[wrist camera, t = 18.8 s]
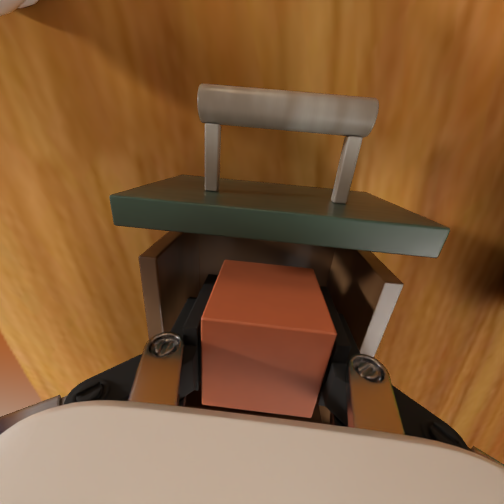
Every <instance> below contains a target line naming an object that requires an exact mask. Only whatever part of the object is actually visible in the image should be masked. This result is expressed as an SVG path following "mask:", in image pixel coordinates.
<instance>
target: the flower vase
mask: <svg viewBox="0 0 504 504" xmlns="http://www.w3.org/2000/svg"><path fill="white" fill-rule="evenodd" d="M38 1H39V0H0V16H3V15H6V14H9V13H11V12H13V11H15V10H16V9H17V8H25V7H28V6H31V5H34V4H35V3H37V2H38Z"/></svg>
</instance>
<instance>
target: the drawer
mask: <svg viewBox="0 0 504 504" xmlns="http://www.w3.org/2000/svg"><path fill="white" fill-rule="evenodd" d="M197 104H198V113H199V117H200V120H201V122H202V123H205V177H201V176H191V175H179V176H176V177H172V178H169V179H165V180H162V181H158V182H154V183H151V184H147V185H144V186H140V187H137V188H133V189H130V190H126V191H123V192H119V193H116V194H112V195H110V203H111V209H112V215H113V222H114V225H116V226H125V227H135V228H145V229H155V230H165V231H169V232H168V233H167V234H165V235H164V236H163V237H162V238H161V239H159V240H158V241H157V242H156V243H154V244H153V245H152V246H151V247H150V248H148V249H147V250H146V251H145V252H143V253H142V254H141V255H140V256H139V264H140V272H141V280H142V288H143V296H144V303H145V311H146V319H147V327H148V335H149V339H150V338H152V337H153V336H155V335H157V334H159V333H162V332H170V331H171V329H172V327H173V325H174V324H175V322H176V320H177V318H178V316H179V314H180V312H181V311H182V309H183V307H184V305H185V303H186V301H187V299H188V298H189V297H195V298H197V297H198V295H199V292H200V290H201V288H202V286H203V284H204V282H205V280H206V278H207V276H208V274H213V275H219V272H220V270H221V267H222V265H223V262H224V260H235V261H244V262H254V263H264V264H273V265H283V266H292V267H302V268H311V269H314V272H315V275H316V278H317V280H318V283H319V286H325V287H327V288H328V290H329V293H330V295H331V298H332V300H333V303H334V305H335V307H336V310H337V312H338V313H340V314H343V316H344V317H345V320H346V322H347V324H348V326H349V329H350V331H351V333H352V335H353V338H354V340H355V342H356V345H357V347H358V349H359V351H360V353H361V354H366V355H369V356H371V357H373V358H374V356H375V353H376V351H377V349H378V346H379V344H380V341H381V339H382V336H383V334H384V331H385V329H386V326H387V324H388V322H389V319H390V317H391V314H392V312H393V309H394V307H395V304H396V302H397V300H398V297H399V295H400V292H401V290H402V287H403V283H402V282H401V281H400V280H399V279H398V278H397V277H396V276H395V275H394V274H393V273H392V272H391V271H390V270H389V269H388V268H387V267H386V266H385V265H384V264H383V263H382V262H381V261H380V260H379V259H378V258H377V257H376V256H375V255H374V254H373V253H372V252H382V253H392V254H401V255H411V256H421V257H431V258H437V257H438V256H439V254H440V252H441V250H442V247H443V245H444V243H445V241H446V239H447V236H448V234H449V232H450V228H448V227H446V226H443V225H441V224H439V223H436V222H434V221H432V220H429V219H427V218H425V217H422V216H420V215H418V214H416V213H413V212H411V211H409V210H406V209H404V208H402V207H399V206H397V205H395V204H392V203H390V202H388V201H385V200H383V199H381V198H378V197H376V196H374V195H371V194H369V193H367V192H359V191H350V187H351V183H352V179H353V175H354V170H355V166H356V162H357V158H358V154H359V150H360V146H361V142H362V137H366V136H368V135H369V133H370V132H371V130H372V128H373V126H374V124H375V121H376V118H377V114H378V109H379V102H378V100H377V99H376V98H369V97H357V96H345V95H334V94H322V93H310V92H298V91H286V90H274V89H263V88H251V87H239V86H227V85H215V84H203V83H202V84H200V86H199V89H198V96H197ZM221 125H230V126H241V127H253V128H264V129H275V130H286V131H298V132H309V133H320V134H331V135H343V136H346V137H345V138H344V143H343V148H342V152H341V157H340V161H339V166H338V170H337V175H336V179H335V184H334V188H333V189H328V188H317V187H307V186H296V185H285V184H275V183H264V182H254V181H243V180H233V179H222V178H220V150H221ZM371 251H372V252H371ZM186 405H187V406H195V407H203V408H211V409H220V410H228V411H236V412H245V413H253V414H261V415H269V416H278V417H286V418H294V419H302V420H311V421H319V422H327V423H330V411H329V410H328V409H327V408H326V407H325V406H320V405H318V404H317V401H316V404H315V407H314V410H313V414H312V417H311V418H307V417H299V416H291V415H283V414H275V413H266V412H258V411H250V410H242V409H234V408H226V407H217V406H209V405H203V404H202V383H200V387H199V390H198V391H196V390H194V391H192V392H191V393H189V394H188V395H186Z"/></svg>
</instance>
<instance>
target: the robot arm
mask: <svg viewBox="0 0 504 504" xmlns="http://www.w3.org/2000/svg"><path fill="white" fill-rule="evenodd" d="M217 277H218V275H213V274H208V276H207V278H206V280H205V282H204V284H203V286H202V288H201V290H200V292H199V295H198V297H197V298H195V297H189V298H188V299H187V301H186V303H185V305H184V307H183V309H182V311H181V312H180V314H179V316H178V318H177V320H176V322H175V324H174V325H173V327H172V329H171V331H170V332H162V333H159V334H157V335H155V336H153V337H152V338H150V339H149V340H148V341H147V343H146V345H145V347H144V350H143V354H141V355H138V356H136V357H134V358H132V359H130V360H128V361H126V362H123V363H121V364H119V365H117V366H115V367H113V368H111V369H108V370H106V371H104V372H102V373H100V374H98V375H96V376H94V377H91V378H89V379H87V380H85V381H84V382H82V383H80V384H79V385H77V386H76V387H75V388H74V389H73V390H72V391H71V392H70V393H69V394H68V396H65V397H63V398H61V396H60V395H58V396H55V397H53V398H50V399H47V400H45V401H42V402H39V403H37V404H34V405H32V406H28V407H26V408H23V409H21V410H18V411H15V412H12V413H10V414H7V415H4V416H2V417H0V504H504V464H502V463H500V462H499V461H497V460H495V459H494V458H492V457H491V456H489V455H487V454H486V453H484V452H482V451H481V450H479V449H477V448H476V447H474V446H473V447H472V448H471V449H470V448H469V447H467V445H466V444H465V442H464V441H463V439H462V438H461V437H460V435H459V434H458V433H457V432H456V431H455V430H454V429H453V428H451V427H450V426H449V425H448V424H446V423H445V422H444V421H442V420H441V419H439V418H438V417H437V416H435V415H434V414H432V413H431V412H429V411H428V410H427V409H425V408H424V407H422V406H421V405H419V404H418V403H417V402H415V401H414V400H412V399H411V398H410V397H408V396H407V395H405V394H404V393H402V392H401V391H400V390H398V389H397V388H395V387H394V386H393V385H392V384H391V380H390V376H389V374H388V371H387V369H386V368H385V367H384V366H383V364H381V363H380V362H379V361H378V360H376V359H375V358H373V357H371V356H369V355H366V354H361V353H360V351H359V349H358V347H357V345H356V342H355V340H354V338H353V335H352V333H351V331H350V329H349V326H348V324H347V322H346V320H345V317H344V316H343V314H340V313H338V312H337V310H336V307H335V305H334V303H333V300H332V298H331V295H330V293H329V290H328V288H327V287H325V286H320V289H321V291H322V294H323V297H324V300H325V302H326V305H327V308H328V311H329V313H330V316H331V319H332V321H333V324H334V327H335V330H336V332H337V336H336V339H335V342H334V345H333V349H332V352H331V355H330V358H329V362H328V365H327V368H326V371H325V375H324V378H323V381H322V384H321V388H320V391H319V394H318V397H317V404H318V405H320V406H325V407H326V408H327V409H328V410H329V411H330V425H328V424H320V423H313V422H305V421H297V420H289V419H281V418H273V417H265V416H256V415H248V414H240V413H232V412H223V411H215V410H206V409H198V408H189V407H186V395H188V394H189V393H191V392H192V391H194V390H196V391H198V390H199V387H200V383H202V380H201V317H202V315H203V312H204V310H205V307H206V305H207V302H208V300H209V297H210V295H211V292H212V290H213V287H214V285H215V282H216V280H217Z"/></svg>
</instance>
